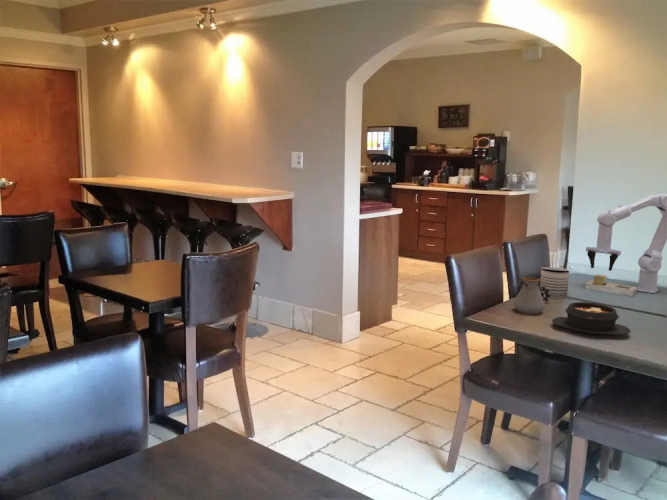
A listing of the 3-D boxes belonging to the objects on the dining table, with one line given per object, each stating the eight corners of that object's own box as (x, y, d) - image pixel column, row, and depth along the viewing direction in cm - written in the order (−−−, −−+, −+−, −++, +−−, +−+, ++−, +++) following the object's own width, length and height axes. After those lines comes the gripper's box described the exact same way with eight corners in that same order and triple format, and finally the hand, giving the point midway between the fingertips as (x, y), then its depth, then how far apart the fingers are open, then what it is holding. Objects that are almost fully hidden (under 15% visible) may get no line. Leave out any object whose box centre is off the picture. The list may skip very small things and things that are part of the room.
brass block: (595, 287, 276) (597, 274, 275) (604, 288, 273) (606, 276, 272) (593, 288, 273) (594, 275, 272) (602, 290, 270) (603, 277, 269)
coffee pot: (517, 306, 238) (520, 268, 236) (547, 310, 233) (550, 272, 230) (502, 318, 220) (505, 278, 218) (534, 323, 215) (538, 282, 212)
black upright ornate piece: (532, 308, 236) (550, 304, 244) (534, 291, 235) (551, 288, 243) (518, 304, 241) (535, 300, 249) (519, 288, 240) (537, 284, 248)
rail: (590, 285, 280) (591, 280, 279) (637, 292, 267) (638, 287, 267) (584, 288, 273) (585, 283, 272) (632, 296, 260) (633, 290, 260)
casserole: (548, 332, 205) (550, 308, 204) (554, 318, 222) (557, 296, 220) (629, 344, 194) (632, 319, 193) (630, 329, 211) (632, 306, 210)
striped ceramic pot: (535, 295, 257) (538, 267, 255) (543, 290, 266) (545, 264, 264) (563, 299, 251) (566, 271, 249) (570, 294, 260) (572, 267, 258)
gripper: (584, 238, 271) (581, 267, 273) (619, 242, 262) (615, 272, 264) (589, 236, 276) (586, 265, 278) (623, 240, 267) (620, 270, 269)
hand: (601, 269), depth 272 cm, fingers open, 7 cm apart
